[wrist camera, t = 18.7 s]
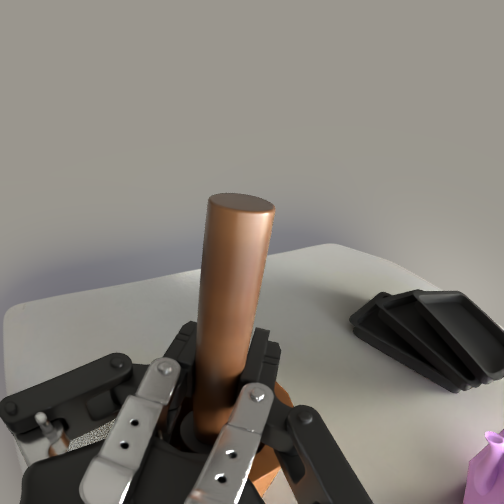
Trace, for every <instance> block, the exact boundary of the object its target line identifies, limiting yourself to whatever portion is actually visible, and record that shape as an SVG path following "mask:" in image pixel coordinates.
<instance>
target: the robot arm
mask: <svg viewBox="0 0 504 504" xmlns="http://www.w3.org/2000/svg"><path fill="white" fill-rule="evenodd" d="M196 333H197V323H196V322H193V321H189V322H188V323H186V324H185V325H183V326H182V328H181V329H180V331H179V333H178V334H177V335H176V337H175V339H174V340H173V342H172V343H171V345H170V346H169V348H168V349H167V351H166V353H165V354H164V356H163V357H162V358H158V359H155V360H154V361H152V362H151V364H149V365H143V364H133V363H132V361H131V359H130V358H129V357H128V356H127V355H125V354H122V353H112V354H109V355H107V356H104V357H102V358H100V359H97V360H95V361H93V362H90V363H88V364H86V365H83V366H81V367H79V368H76V369H74V370H72V371H69V372H67V373H65V374H62V375H60V376H57V377H55V378H52V379H50V380H48V381H45V382H43V383H40V384H38V385H35V386H33V387H30V388H28V389H25V390H23V391H20V392H18V393H15V394H13V395H10V396H7V397H5V398H4V399H3V400H2V401H1V402H0V417H1V418H2V420H3V421H4V423H5V424H6V425H7V428H8V429H9V431H10V432H11V433H12V434H13V436H14V437H15V439H16V442H17V444H18V446H19V448H20V451H21V453H22V455H23V457H24V459H25V461H26V463H27V465H28V468H27V469H26V471H25V473H24V475H23V478H22V494H21V500H20V504H265V503H264V501H263V499H262V498H261V496H260V494H259V493H258V491H257V489H256V487H255V486H254V484H253V483H252V482H251V480H250V479H249V478H248V477H247V476H248V473H249V471H250V468H251V465H252V462H253V460H254V457H255V454H256V451H257V448H258V445H259V442H262V443H264V444H266V445H268V446H269V447H271V448H273V450H274V453H275V455H276V457H277V459H278V462H279V464H280V466H281V468H282V470H283V473H284V475H285V477H286V479H287V481H288V483H289V485H290V487H291V489H292V492H293V494H294V496H295V498H296V500H297V502H298V504H374V503H373V502H372V500H371V499H370V497H369V495H368V494H367V492H366V491H365V489H364V487H363V486H362V484H361V483H360V481H359V479H358V478H357V476H356V474H355V473H354V471H353V470H352V468H351V466H350V465H349V463H348V461H347V460H346V458H345V456H344V455H343V453H342V451H341V450H340V448H339V446H338V445H337V443H336V441H335V440H334V438H333V436H332V435H331V433H330V431H329V430H328V428H327V426H326V425H325V423H324V421H323V420H322V418H321V416H320V415H319V413H318V412H317V411H316V410H315V409H314V408H312V407H309V406H306V405H298V406H295V407H293V408H292V407H290V406H288V405H286V404H284V403H282V402H281V401H280V400H279V399H278V398H277V397H276V395H275V392H274V388H275V382H276V377H277V371H278V365H279V360H280V355H281V349H280V346H279V344H278V343H277V342H272V341H268V337H269V333H270V330H265V329H261V328H257V327H256V328H255V331H254V335H253V338H252V341H251V344H250V348H249V351H248V354H247V359H246V363H245V367H244V369H243V371H242V373H241V376H240V380H239V385H238V390H237V395H236V400H235V405H234V408H233V410H232V412H231V414H230V416H229V419H228V421H227V423H225V424H224V425H223V427H222V429H221V431H220V433H219V436H218V438H217V440H216V442H215V444H214V446H213V448H212V450H211V452H210V455H209V454H199V453H189V452H182V451H180V450H178V449H176V448H175V447H173V446H171V445H170V438H171V435H172V432H173V429H174V426H175V423H176V420H177V418H178V415H179V412H180V409H181V403H182V401H183V399H184V397H185V396H186V397H189V398H191V397H192V395H193V393H194V373H195V351H196ZM114 419H116V420H115V422H114V424H113V426H112V427H111V429H110V431H109V434H108V436H107V438H106V439H103V440H101V441H98V442H95V443H92V444H90V445H87V446H84V447H81V448H78V449H75V450H72V451H69V452H67V449H68V447H69V444H70V441H71V440H73V439H75V438H78V437H80V436H82V435H84V434H86V433H88V432H90V431H92V430H94V429H96V428H98V427H100V426H102V425H104V424H106V423H108V422H110V421H112V420H114Z"/></svg>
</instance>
